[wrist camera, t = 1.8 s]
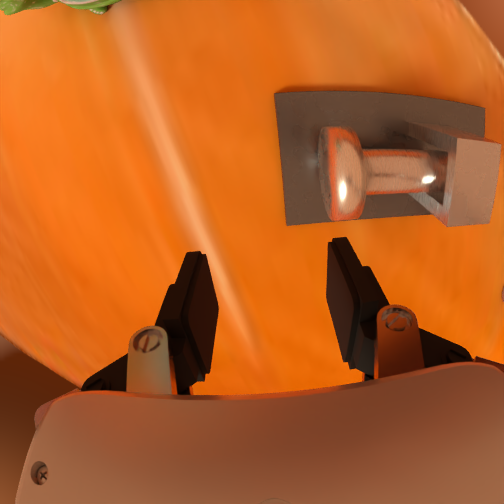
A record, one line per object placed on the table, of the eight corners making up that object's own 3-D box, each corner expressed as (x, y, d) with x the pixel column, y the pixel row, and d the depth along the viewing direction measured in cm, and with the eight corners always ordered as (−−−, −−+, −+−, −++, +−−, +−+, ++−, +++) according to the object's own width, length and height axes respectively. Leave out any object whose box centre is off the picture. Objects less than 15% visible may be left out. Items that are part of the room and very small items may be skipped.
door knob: (442, 126, 23) (490, 142, 16) (438, 194, 27) (478, 225, 21) (315, 122, 24) (339, 133, 18) (319, 200, 28) (339, 238, 22)
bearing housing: (481, 107, 23) (534, 122, 15) (471, 209, 30) (514, 244, 22) (273, 93, 25) (282, 92, 16) (285, 222, 32) (296, 272, 24)
